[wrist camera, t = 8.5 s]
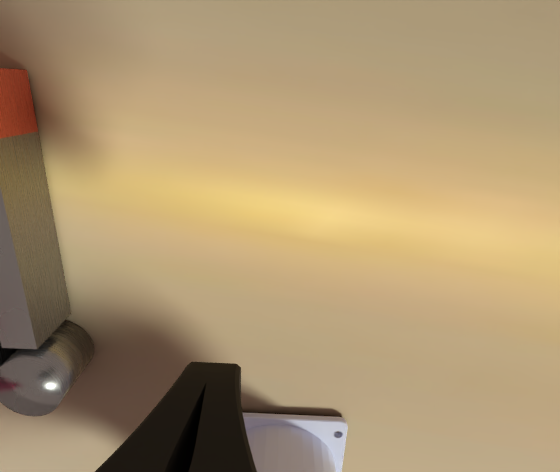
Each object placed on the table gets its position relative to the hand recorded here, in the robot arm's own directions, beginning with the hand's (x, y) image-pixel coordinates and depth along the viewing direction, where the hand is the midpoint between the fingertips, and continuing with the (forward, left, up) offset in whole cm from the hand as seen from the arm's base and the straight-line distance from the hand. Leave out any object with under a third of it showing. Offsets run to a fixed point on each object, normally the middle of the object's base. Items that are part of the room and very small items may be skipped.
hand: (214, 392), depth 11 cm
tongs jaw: (+2, +10, -9) cm, 14 cm away
